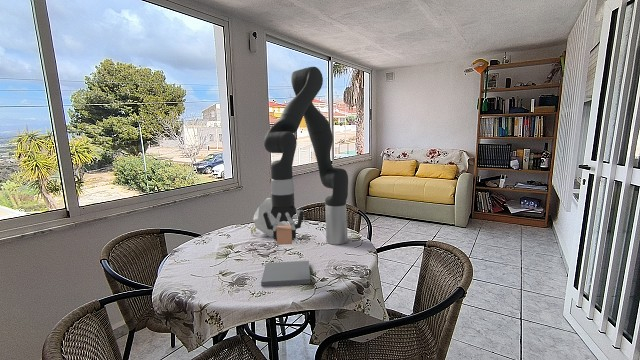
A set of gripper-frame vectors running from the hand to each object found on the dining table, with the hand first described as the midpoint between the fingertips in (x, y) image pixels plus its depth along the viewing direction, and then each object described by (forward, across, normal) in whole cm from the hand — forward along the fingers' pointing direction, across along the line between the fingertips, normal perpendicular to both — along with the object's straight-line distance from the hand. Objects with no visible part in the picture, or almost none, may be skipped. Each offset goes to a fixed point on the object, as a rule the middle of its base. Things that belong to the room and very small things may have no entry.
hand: (284, 239), depth 103 cm
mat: (+13, 0, 0) cm, 13 cm away
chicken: (+13, +9, -41) cm, 44 cm away
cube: (+1, 0, 0) cm, 1 cm away
